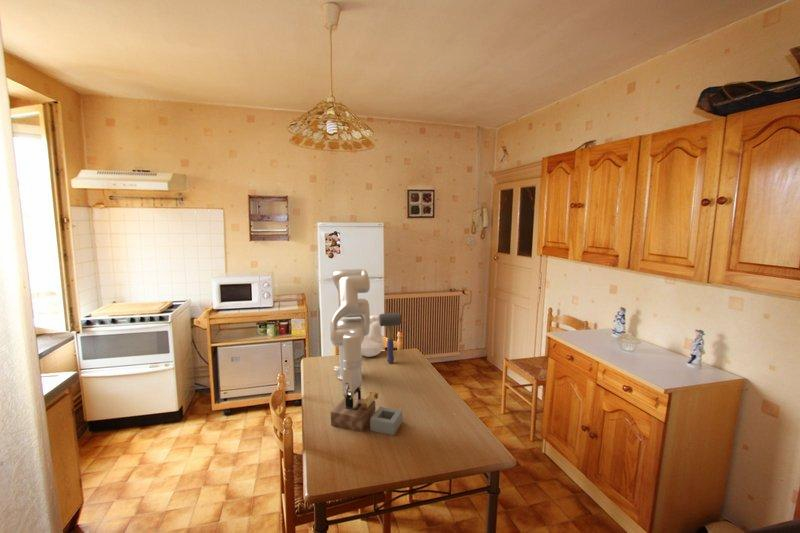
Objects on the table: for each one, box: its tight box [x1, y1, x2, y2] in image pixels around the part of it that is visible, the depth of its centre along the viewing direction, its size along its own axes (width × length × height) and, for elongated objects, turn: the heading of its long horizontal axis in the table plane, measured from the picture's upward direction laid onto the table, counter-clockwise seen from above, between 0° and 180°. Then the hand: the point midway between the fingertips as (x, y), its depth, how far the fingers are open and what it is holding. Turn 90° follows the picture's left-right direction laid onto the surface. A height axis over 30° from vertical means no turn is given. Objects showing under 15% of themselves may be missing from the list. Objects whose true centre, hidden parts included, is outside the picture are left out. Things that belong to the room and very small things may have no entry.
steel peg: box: [348, 391, 358, 411], centre depth 154 cm, size 4×4×12 cm
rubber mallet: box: [378, 312, 402, 364], centre depth 212 cm, size 12×8×30 cm, turn 101°
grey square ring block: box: [369, 406, 403, 436], centre depth 150 cm, size 10×10×5 cm
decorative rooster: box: [361, 314, 384, 358], centre depth 225 cm, size 25×16×25 cm, turn 109°
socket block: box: [330, 397, 377, 432], centre depth 155 cm, size 14×14×6 cm
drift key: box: [362, 390, 380, 409], centre depth 157 cm, size 4×10×2 cm, turn 160°
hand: (353, 402), depth 154 cm, fingers open, 6 cm apart
